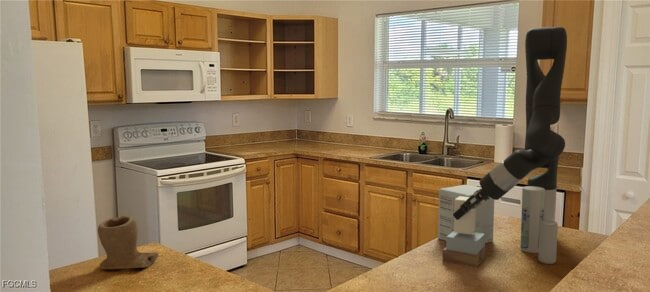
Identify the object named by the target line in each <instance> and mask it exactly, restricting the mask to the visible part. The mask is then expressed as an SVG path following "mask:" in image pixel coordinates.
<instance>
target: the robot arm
mask: <svg viewBox="0 0 650 292" xmlns="http://www.w3.org/2000/svg"><path fill="white" fill-rule="evenodd" d="M524 44H525V45H524V46H525V52H524V53H525V66H526V85H525V86H526V87H525V88H526V89H525V138H524V150H523V149H517V150H515V151H513V152H512V153H511V154H509V155H508V156H507V157H506V158H504V160H503V161H502V162H500V163H498V164H497V165H495V166H494V167H493V168H492V169H491V170H489V171H488V172H487V173H486V174H485V175H484V176H483V177H481V179H480V180H479V186H480V188H482V189H479V190H477V191H475V192H474V193H473V195H472V196H471V197H469V198H468V199H467V200H466V201H465V202H464V203H463V204H462V205H460V208H459V209H458V210H457V211H456V212H455V213H454V214H453V216H454V217H455V218H456V220H458V219H460V218H461V217H462V216H463V215H465V214H466V213H468V212H469V211H470V210H471V209H475V208H477V207H478V206H481V205H482V204H483V203H484V202H487V201H488V200H489V197H490V198H492V199H494V201H498V200H500V199H501V198H502V197H503V196H505V195H506V194H507V193H508V192H510V191H511V190H512V189H513V188H515V187H516V186H517V185H518V183H520V181H521V180H523V179H524V178H526V176H528V174H530V173H531V172H532V171H534V170H536V169H539V168H540V169H541V168H542V169H547V170H546V171H545V172H543V173H541V174H539V175H535V176H532V177H531V176H530V177H529V178H528V179H527V185H526V186H534V187H541V188H544V189H545V197H544V215H543V221H544V220H548V221H554V222H556V209H557V188H558V184H557V182H558V179H557V178H558V170H559V169H558V167H559V158H560V155H561V154H562V153H563V152H564V151H565V147H566V141H565V139H564V137H563V136H562V135H560V134H559V133H557V132H556V131H553V130H552V129H551V126H553V125H555V124H557V123H558V122H559V120H560V117H561V97H562V96H561V94H562V93H561V92H562V86H563V85H562V84H563V79H564V73H565V72H564V71H565V65H566V59H567V58H566V57H567V49H568V47H567V46H568V34H567V31H566V29H565V27H563V26H548V27H547V26H546V27H534V28H529V30H527V32H526V34H525V42H524ZM539 60H541V61H543V60H553V62H552V65H551V67H550V68H549V71H548V72H547V73H546V75H545V73H544V72H543V71H542V69H541V67H540V64H539ZM465 205H467V206H468V207H469V208H467V207H466V206H465ZM475 205H476V206H475Z"/></svg>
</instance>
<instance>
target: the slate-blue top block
mask: <svg viewBox="0 0 650 292" xmlns="http://www.w3.org/2000/svg"><path fill="white" fill-rule="evenodd" d="M445 242H446V243H445V245H446V246H445V247H446V250H451V251H457V252H463V253H469V254H474V255H477V254H478V253H479V252H480V251H481V250H482V249H483V248H484V247H485V248H486V245H485V244H486V243H485V234H484V233H477V232H473V233H472V234H471V235H470V234H463V233H456V232H454V231H453V232H452V233H450V234H449V235H448V236H447V237H446V241H445Z"/></svg>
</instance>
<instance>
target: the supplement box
mask: <svg viewBox="0 0 650 292" xmlns="http://www.w3.org/2000/svg"><path fill="white" fill-rule="evenodd" d="M479 189H482V188H481V187H477V186H475V185H468V184H461V185H454V186H449V187H448V186H447V187H443V188H438V225H437V226H438V227H437V238H438V239H440V240H442V241H445V242H446V237H447V236H448V235H449V234H450V233H452V232H453V231H454V216H453V214H454V200H455V199H456V198H457V197H459V196H462V197H471V196H472V195H473V193H474V192H475V191H477V190H479ZM494 220H495V200H494V199H492V198H490V197H489V200H488V201H487V202H484V203H483V204H482V205H481V206H478V207H477V208H476V217H475V231H474V232H477V233H484V234H485V244H487V243H490V242H493V241H494V225H495V223H494Z"/></svg>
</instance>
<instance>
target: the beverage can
mask: <svg viewBox="0 0 650 292" xmlns="http://www.w3.org/2000/svg"><path fill="white" fill-rule="evenodd" d="M558 229H559V226H558V222H557V221H555V222H554V221H548V220H544V221H541V223H540V234H539V253H538V254H537V255H538V256H537V257H538V261H539V262H540V263H541V264H544V265H552V264H555V263H556V261H557V251H558V249H557V247H558Z"/></svg>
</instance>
